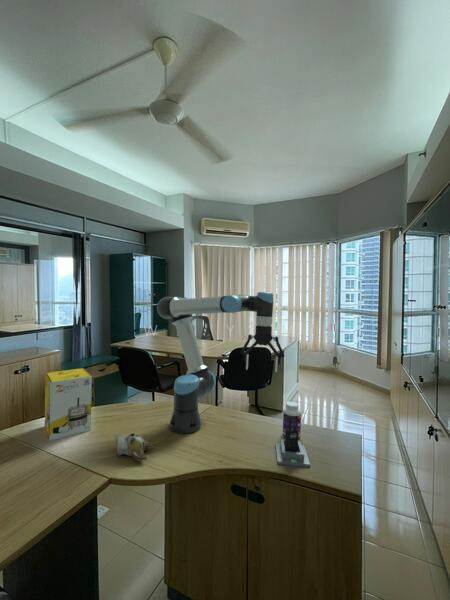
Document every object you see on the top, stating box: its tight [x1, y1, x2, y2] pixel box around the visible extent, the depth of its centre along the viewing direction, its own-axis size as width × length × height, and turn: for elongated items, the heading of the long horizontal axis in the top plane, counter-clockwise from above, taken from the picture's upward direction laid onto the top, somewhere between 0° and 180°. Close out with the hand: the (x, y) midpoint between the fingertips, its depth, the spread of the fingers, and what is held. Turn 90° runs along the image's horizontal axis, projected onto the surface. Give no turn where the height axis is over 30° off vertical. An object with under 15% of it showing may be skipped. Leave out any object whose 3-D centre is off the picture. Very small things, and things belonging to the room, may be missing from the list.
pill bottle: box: [282, 401, 302, 437], centre depth 131 cm, size 8×8×14 cm
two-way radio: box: [284, 417, 300, 452], centre depth 115 cm, size 6×4×15 cm
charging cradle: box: [274, 439, 311, 468], centre depth 115 cm, size 12×14×4 cm
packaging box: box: [44, 367, 93, 442], centre depth 131 cm, size 16×16×25 cm
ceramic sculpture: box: [115, 433, 157, 461], centre depth 112 cm, size 11×9×15 cm
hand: (261, 370), depth 134 cm, fingers open, 13 cm apart
